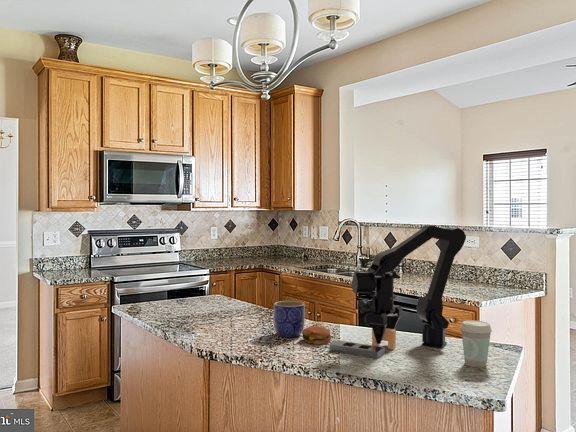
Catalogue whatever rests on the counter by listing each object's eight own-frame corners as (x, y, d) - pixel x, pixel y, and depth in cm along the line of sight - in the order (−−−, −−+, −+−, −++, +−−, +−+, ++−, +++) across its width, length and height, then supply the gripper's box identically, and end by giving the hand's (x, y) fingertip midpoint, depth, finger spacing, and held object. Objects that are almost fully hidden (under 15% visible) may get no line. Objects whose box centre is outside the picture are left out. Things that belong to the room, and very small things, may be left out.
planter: (311, 334, 181) (311, 303, 181) (290, 340, 173) (290, 307, 173) (288, 329, 188) (288, 299, 188) (267, 335, 180) (267, 303, 180)
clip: (395, 348, 164) (395, 329, 164) (393, 349, 162) (393, 330, 162) (374, 344, 168) (374, 326, 168) (371, 346, 166) (372, 328, 166)
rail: (384, 353, 158) (384, 347, 158) (377, 358, 153) (377, 352, 153) (337, 346, 166) (337, 340, 166) (329, 350, 161) (329, 344, 161)
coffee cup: (455, 360, 151) (455, 320, 151) (482, 359, 152) (483, 319, 152) (467, 369, 143) (468, 326, 143) (497, 368, 144) (497, 326, 143)
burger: (326, 337, 178) (326, 323, 178) (334, 344, 169) (334, 330, 169) (299, 338, 176) (299, 325, 176) (305, 345, 167) (305, 331, 167)
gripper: (372, 286, 177) (371, 331, 177) (349, 294, 161) (349, 343, 161) (403, 289, 171) (402, 335, 172) (382, 297, 155) (382, 348, 156)
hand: (383, 340), depth 165 cm, fingers open, 9 cm apart
